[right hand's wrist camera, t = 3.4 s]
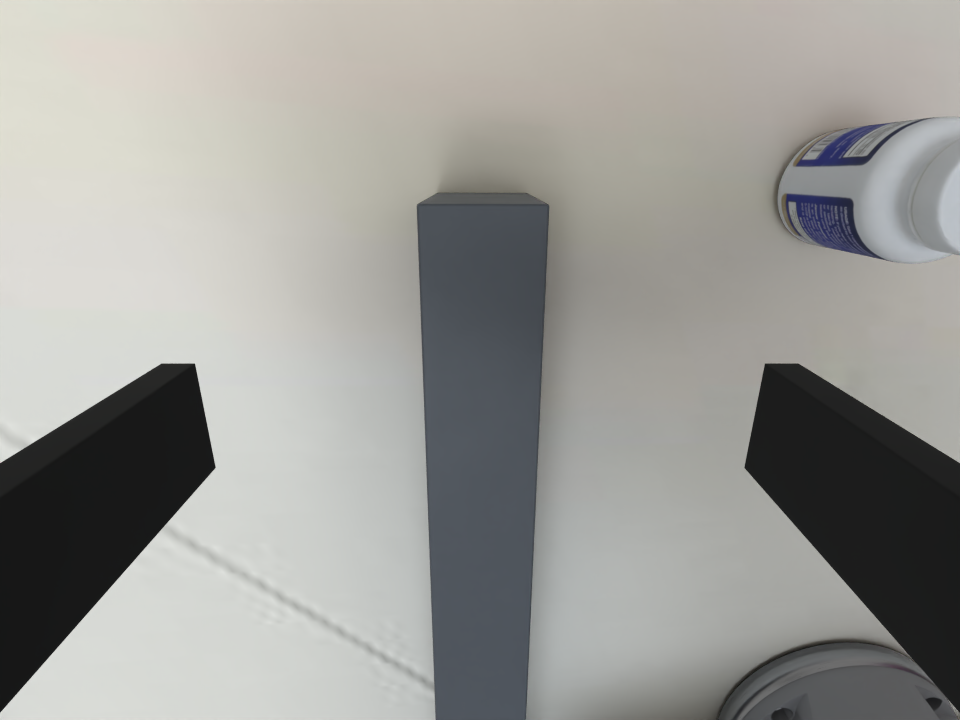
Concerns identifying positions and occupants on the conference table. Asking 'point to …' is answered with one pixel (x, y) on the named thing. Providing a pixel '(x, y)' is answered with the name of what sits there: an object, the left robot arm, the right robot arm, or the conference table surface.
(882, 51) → the conference table surface
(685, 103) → the conference table surface
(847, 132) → the pill bottle
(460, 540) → the bar
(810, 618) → the conference table surface
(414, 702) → the conference table surface
